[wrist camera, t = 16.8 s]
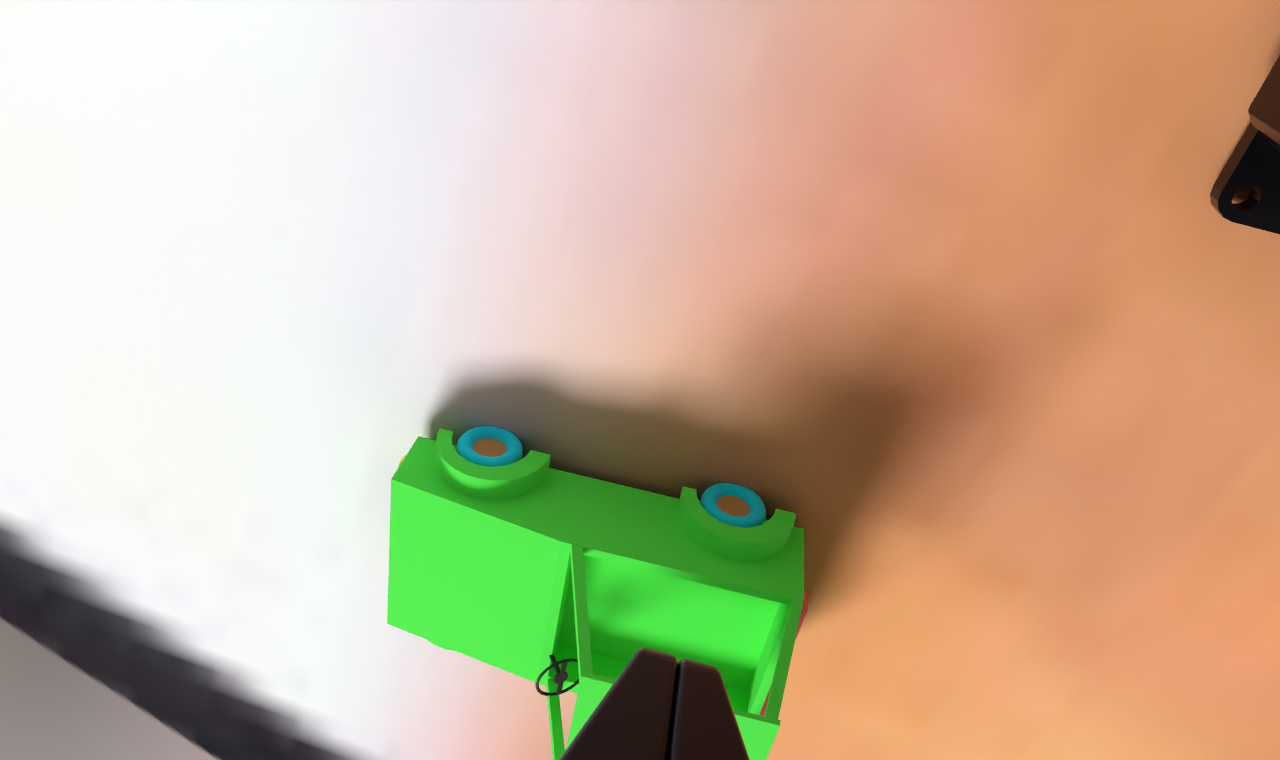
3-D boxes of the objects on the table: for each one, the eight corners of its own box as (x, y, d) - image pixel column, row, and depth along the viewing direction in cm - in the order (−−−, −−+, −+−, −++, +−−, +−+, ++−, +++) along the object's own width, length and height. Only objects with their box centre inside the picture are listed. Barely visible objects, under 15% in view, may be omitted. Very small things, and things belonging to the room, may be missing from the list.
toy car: (821, 500, 24) (824, 701, 19) (760, 665, 28) (747, 875, 22) (421, 403, 25) (306, 571, 19) (412, 578, 28) (314, 762, 23)
